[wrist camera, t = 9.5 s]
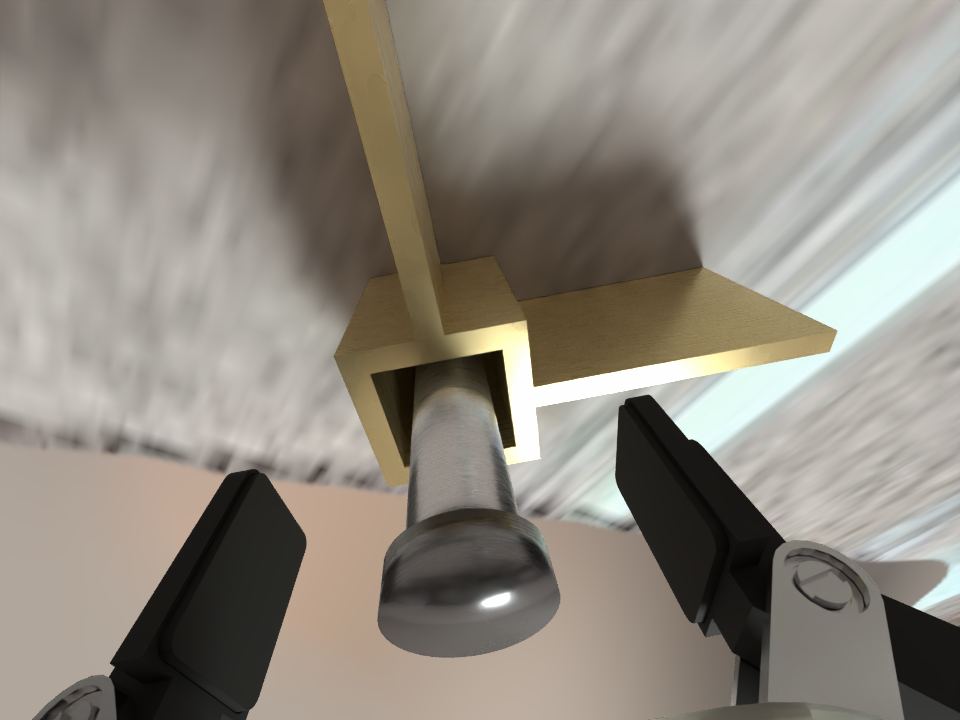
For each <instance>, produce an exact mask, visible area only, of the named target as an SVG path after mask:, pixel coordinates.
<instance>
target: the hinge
mask: <svg viewBox="0 0 960 720" xmlns="http://www.w3.org/2000/svg"><path fill="white" fill-rule="evenodd" d="M323 2H324V6H325V10H326V13H327V17H328V21H329V24H330V28H331V32H332V35H333V39H334V42H335V46H336V50H337V53H338V57H339V61H340V64H341V68H342V71H343V75H344V79H345V82H346V86H347V90H348V93H349V97H350V101H351V104H352V108H353V111H354V115H355V119H356V122H357V126H358V130H359V133H360V137H361V140H362V144H363V148H364V151H365V155H366V159H367V162H368V166H369V170H370V173H371V177H372V180H373V184H374V188H375V191H376V195H377V199H378V202H379V206H380V209H381V213H382V217H383V220H384V224H385V228H386V231H387V235H388V239H389V242H390V246H391V249H392V253H393V257H394V260H395V264H396V268H397V271H398V273H396V274H390V275H385V276H379V277H374V278H370V280H369V282H368V284H367V286H366V288H365V291H364V293H363V295H362V297H361V299H360V301H359V303H358V305H357V308H356V310H355V312H354V314H353V316H352V318H351V320H350V322H349V325H348V327H347V329H346V331H345V333H344V335H343V337H342V339H341V342H340V344H339V346H338V348H337V350H336V352H335V354H334V358H335V360H336V363H337V365H338V368H339V370H340V372H341V375H342V377H343V380H344V382H345V384H346V387H347V389H348V392H349V394H350V396H351V399H352V401H353V404H354V406H355V408H356V411H357V413H358V415H359V418H360V420H361V423H362V425H363V427H364V430H365V432H366V435H367V437H368V439H369V442H370V444H371V447H372V449H373V451H374V454H375V456H376V459H377V461H378V463H379V466H380V468H381V471H382V473H383V475H384V478H385V480H386V483H387V485H388V487H392V486H397V485H402V484H408V483H409V471H410V456H411V440H412V424H413V408H414V392H415V376H416V365H421V364H426V363H432V362H437V361H442V360H448V359H453V358H459V357H464V356H469V355H475V354H480V353H481V356H482V360H483V365H484V369H485V373H486V377H487V381H488V386H489V390H490V394H491V398H492V403H493V407H494V411H495V415H496V419H497V424H498V428H499V432H500V436H501V440H502V445H503V449H504V453H505V457H506V461H507V465H508V464H513V463H518V462H524V461H529V460H534V459H540V453H539V443H538V432H537V422H536V412H535V407H538V406H544V405H549V404H554V403H560V402H565V401H570V400H576V399H581V398H586V397H592V396H597V395H602V394H608V393H613V392H618V391H624V390H629V389H634V388H640V387H645V386H650V385H656V384H661V383H666V382H671V381H677V380H682V379H687V378H693V377H698V376H703V375H709V374H714V373H719V372H725V371H730V370H735V369H741V368H746V367H751V366H757V365H762V364H767V363H773V362H778V361H783V360H789V359H794V358H799V357H805V356H810V355H815V354H820V353H826V352H829V351H830V349H831V346H832V344H833V341H834V338H835V336H836V333H837V330H835V329H833V328H831V327H829V326H827V325H825V324H822V323H820V322H818V321H816V320H814V319H812V318H810V317H808V316H805V315H803V314H801V313H799V312H797V311H795V310H793V309H791V308H789V307H786V306H784V305H782V304H780V303H778V302H776V301H774V300H772V299H770V298H767V297H765V296H763V295H761V294H759V293H757V292H755V291H753V290H750V289H748V288H746V287H744V286H742V285H740V284H738V283H736V282H734V281H731V280H729V279H727V278H725V277H723V276H721V275H719V274H717V273H715V272H712V271H710V270H708V269H706V268H704V267H702V268H697V269H692V270H686V271H681V272H675V273H670V274H664V275H659V276H654V277H648V278H643V279H637V280H632V281H627V282H621V283H616V284H610V285H605V286H600V287H594V288H589V289H583V290H578V291H573V292H567V293H562V294H556V295H551V296H545V297H540V298H535V299H529V300H524V301H518V302H517V300H516V298H515V296H514V294H513V292H512V291H511V289H510V287H509V285H508V283H507V281H506V279H505V277H504V275H503V273H502V271H501V269H500V267H499V265H498V263H497V261H496V259H495V257H494V256H488V257H483V258H478V259H472V260H467V261H461V262H456V263H450V264H445V265H441V263H440V258H439V254H438V249H437V244H436V239H435V235H434V230H433V225H432V220H431V216H430V211H429V206H428V202H427V197H426V192H425V187H424V183H423V178H422V173H421V168H420V164H419V159H418V154H417V149H416V145H415V140H414V135H413V130H412V126H411V121H410V116H409V112H408V107H407V102H406V97H405V93H404V88H403V83H402V78H401V74H400V69H399V64H398V59H397V55H396V50H395V45H394V41H393V36H392V31H391V26H390V22H389V17H388V12H387V7H386V3H385V0H323Z"/></svg>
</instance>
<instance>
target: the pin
mask: <svg viewBox="0 0 960 720" xmlns="http://www.w3.org/2000/svg"><path fill="white" fill-rule="evenodd" d="M559 604H560V593H559V588H558V584H557V581H556V577H555V574H554V570H553V567H552V563H551V560H550V557H549V553H548V549H547V546H546V542H545V539H544V537H543V535H542V533H541V532H540V531H539V530H538V528H537V527H536V526H534V525H533V524H532V523H531V522H529V521H528V520H526V519H525V518H522V517H520V516H519V512H518V508H517V504H516V499H515V495H514V491H513V487H512V482H511V478H510V474H509V470H508V466H507V461H506V457H505V453H504V449H503V445H502V440H501V436H500V432H499V428H498V424H497V419H496V415H495V411H494V407H493V403H492V398H491V394H490V390H489V386H488V381H487V377H486V373H485V369H484V365H483V360H482V356H481V353H480V354H475V355H469V356H464V357H459V358H453V359H448V360H442V361H437V362H432V363H426V364H421V365H416V376H415V392H414V408H413V424H412V440H411V456H410V471H409V487H408V504H407V520H406V530H405V531H404V532H403V533H401V534H400V535H399V536H398V537H397V538H396V539H395V540H394V541H393V543H392V544H391V545H390V547H389V549H388V551H387V552H386V555H385V558H384V565H383V573H382V582H381V592H380V601H379V610H378V626H379V629H380V631H381V633H382V634H383V635H384V637H385V638H386V639H387V640H388V641H390V642H391V643H392V644H394V645H395V646H397V647H399V648H401V649H403V650H406V651H409V652H412V653H415V654H419V655H424V656H431V657H452V658H453V657H467V656H475V655H481V654H486V653H490V652H494V651H498V650H501V649H504V648H507V647H510V646H512V645H515V644H517V643H519V642H521V641H523V640H525V639H527V638H529V637H531V636H532V635H534V634H535V633H537V632H538V631H540V630H541V629H542V628H543V627H545V626H546V625H547V624H548V622H550V620H551V619H552V618H553V617H554V615H555V614H556V612H557V610H558V608H559Z"/></svg>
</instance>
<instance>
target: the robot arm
mask: <svg viewBox="0 0 960 720" xmlns="http://www.w3.org/2000/svg"><path fill="white" fill-rule="evenodd" d="M615 478H616V482H617V486H618V488H619V490H620V492H621V494H622V496H623V498H624V500H625V502H626V504H627V506H628V507H629V509H630V511H631V513H632V515H633V517H634V519H635V521H636V523H637V525H638V526H639V528H640V530H641V532H642V534H643V536H644V538H645V540H646V542H647V543H648V545H649V547H650V549H651V551H652V553H653V555H654V556H655V559H656V560H657V562H658V564H659V566H660V568H661V570H662V572H663V574H664V576H665V578H666V580H667V581H668V583H669V585H670V587H671V589H672V591H673V593H674V595H675V597H676V599H677V600H678V602H679V604H680V606H681V608H682V610H683V612H684V614H685V615H686V617H687V618H688V620H689V621H690V622H691V623H698V625H699V627H700V628H701V630H702V632H703V634H704V636H705V637H709V636H714V635H720V634H722V636H723V637H724V639H725V641H726V642H727V644H728V646H729V648H730V649H731V651H732V652H733V653H734V654H736V656H735V666H734V676H733V677H734V678H733V687H732V697H731V706H729V707H721V708H715V709H709V710H704V711H697V712H692V713H685V714H680V715H674V716H668V717H662V718H656V719H650V720H960V627H957V626H955V625H953V624H950V623H948V622H946V621H943V620H941V619H939V618H936V617H934V616H932V615H929V614H927V613H925V612H922V611H920V610H918V609H915V608H913V607H911V606H908V605H906V604H904V603H901V602H899V601H897V600H894V599H892V598H889V597H887V596H885V595H882V594H880V591H879V588H878V587H877V586H876V584H875V583H874V581H873V580H872V579H871V578H870V576H869V575H868V574H867V573H866V572H865V571H864V570H863V569H862V568H861V567H860V566H859V565H857V564H856V563H855V562H854V561H853V560H851V559H849V558H848V557H846V556H845V555H843V554H842V553H840V552H839V551H836V550H834V549H832V548H829V547H827V546H825V545H823V544H819V543H815V542H811V541H800V540H793V541H790V542H786V541H785V540H784V539H783V538H782V537H781V536H780V534H779V533H778V532H777V531H776V530H775V529H774V528H773V526H772V525H771V524H770V523H769V522H768V521H767V520H766V518H765V517H764V516H763V515H762V514H761V513H760V512H759V510H758V509H757V508H756V507H755V506H754V505H753V504H752V502H751V501H750V500H749V499H748V498H747V497H746V496H745V494H744V493H743V492H742V491H741V490H740V489H739V488H738V486H737V485H736V484H735V483H734V482H733V481H732V480H731V478H730V477H729V476H728V475H727V474H726V473H725V472H724V470H723V469H722V468H721V467H720V466H719V465H718V464H717V462H716V461H715V460H714V459H713V458H712V457H711V456H710V454H709V453H708V452H707V451H706V450H705V449H704V448H703V446H702V445H700V444H699V443H698V442H697V441H695V440H688V438H687V437H686V436H685V435H684V434H683V433H682V431H681V430H680V429H679V428H678V427H677V425H676V424H675V423H674V422H673V421H672V420H671V418H670V417H669V416H668V415H667V414H666V413H665V411H664V410H663V409H662V408H661V407H660V405H659V404H658V403H657V402H656V401H655V400H654V398H653V397H652V396H650V395H644V396H639V397H633V398H628V399H626V401H625V404H624V405H621V406H620V407H619V414H618V433H617V453H616V472H615ZM305 549H306V536H305V534H304V532H303V531H302V529H301V528H300V526H299V525H298V523H297V522H296V520H295V519H294V517H293V516H292V514H291V513H290V511H289V509H288V508H287V506H286V505H285V503H284V502H283V500H282V499H281V497H280V496H279V494H278V493H277V491H276V490H275V488H274V487H273V485H272V484H271V482H270V480H269V479H268V477H267V476H266V475H265V474H263V473H260V472H259V471H258V470H256V469H251V470H246V471H240V472H235V473H231V474H229V475H227V477H226V478H225V479H224V481H223V482H222V484H221V485H220V487H219V489H218V490H217V492H216V493H215V495H214V497H213V498H212V500H211V501H210V503H209V505H208V506H207V508H206V510H205V511H204V513H203V514H202V516H201V518H200V519H199V521H198V523H197V524H196V526H195V527H194V529H193V530H192V532H191V534H190V535H189V537H188V538H187V540H186V542H185V543H184V545H183V547H182V548H181V550H180V551H179V553H178V554H177V556H176V558H175V559H174V561H173V562H172V564H171V566H170V567H169V569H168V571H167V572H166V574H165V575H164V577H163V579H162V580H161V582H160V583H159V585H158V587H157V588H156V590H155V591H154V593H153V595H152V596H151V598H150V600H149V601H148V603H147V605H146V606H145V607H144V609H143V611H142V612H141V614H140V616H139V617H138V619H137V620H136V622H135V624H134V625H133V627H132V628H131V630H130V632H129V633H128V635H127V637H126V638H125V640H124V641H123V643H122V644H121V646H120V648H119V649H118V651H117V652H116V654H115V656H114V657H113V659H112V661H111V662H110V664H111V665H113V666H115V668H114V670H113V671H112V673H111V675H110V676H109V677H107V676H104V675H95V676H90V677H88V678H85V679H83V680H80V681H78V682H76V683H75V684H74V685H72V686H70V687H69V688H67V689H65V690H64V691H62V692H61V693H60V694H59V695H57V696H56V697H55V698H54V699H53V700H51V701H50V702H49V703H48V704H47V705H45V706H44V708H43V709H42V710H41V711H40V712H39V713H38V714H37V715H36V716H35V717H34V718H33V719H32V720H246V718H247V715H248V712H249V710H250V709H251V708H253V707H254V706H255V704H256V702H257V700H258V698H259V695H260V692H261V689H262V685H263V682H264V679H265V676H266V673H267V670H268V667H269V663H270V660H271V657H272V654H273V651H274V648H275V645H276V641H277V638H278V635H279V632H280V629H281V626H282V622H283V619H284V616H285V613H286V610H287V607H288V604H289V600H290V597H291V594H292V591H293V588H294V585H295V581H296V578H297V575H298V572H299V568H300V566H301V562H302V559H303V556H304V553H305Z"/></svg>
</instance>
